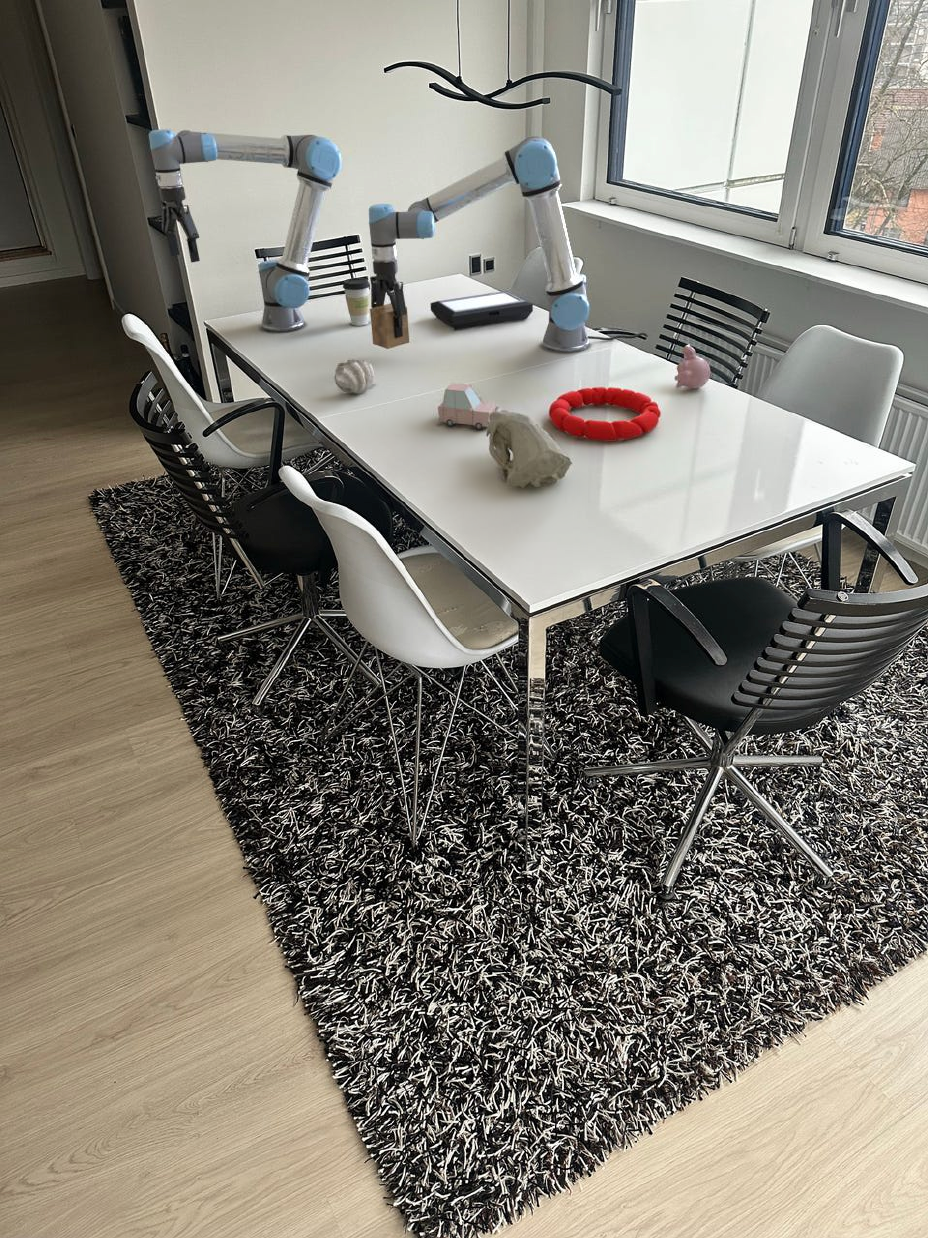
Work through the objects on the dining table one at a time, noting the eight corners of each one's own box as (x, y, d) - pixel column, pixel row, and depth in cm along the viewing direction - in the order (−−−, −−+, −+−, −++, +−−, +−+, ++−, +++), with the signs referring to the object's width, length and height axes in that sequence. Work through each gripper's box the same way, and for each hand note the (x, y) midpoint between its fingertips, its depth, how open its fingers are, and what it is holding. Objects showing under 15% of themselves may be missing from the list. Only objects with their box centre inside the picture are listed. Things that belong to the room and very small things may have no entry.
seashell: (327, 392, 269) (323, 359, 263) (372, 382, 274) (369, 350, 269) (340, 402, 261) (336, 369, 255) (386, 392, 267) (383, 359, 261)
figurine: (665, 387, 264) (669, 347, 257) (693, 380, 268) (698, 340, 261) (686, 396, 257) (690, 355, 250) (714, 388, 262) (720, 348, 255)
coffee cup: (372, 326, 323) (368, 283, 314) (345, 327, 323) (340, 284, 315) (374, 318, 331) (371, 276, 322) (348, 319, 331) (344, 277, 323)
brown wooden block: (373, 343, 288) (369, 308, 281) (394, 337, 293) (391, 302, 286) (387, 348, 283) (384, 313, 277) (409, 342, 288) (407, 306, 282)
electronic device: (452, 314, 311) (430, 300, 326) (452, 332, 314) (431, 318, 330) (532, 301, 321) (508, 289, 336) (532, 319, 325) (508, 305, 340)
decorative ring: (589, 435, 224) (684, 402, 234) (527, 398, 247) (617, 369, 256) (589, 461, 229) (683, 427, 238) (529, 422, 251) (617, 393, 260)
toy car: (488, 432, 240) (488, 396, 234) (436, 426, 244) (434, 390, 239) (499, 419, 247) (499, 384, 241) (448, 413, 252) (447, 379, 246)
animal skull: (496, 517, 219) (521, 479, 201) (463, 429, 225) (484, 384, 207) (557, 503, 225) (586, 465, 206) (523, 417, 231) (549, 373, 212)
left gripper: (141, 183, 282) (156, 254, 294) (179, 192, 267) (193, 266, 279) (163, 180, 286) (177, 250, 298) (201, 188, 271) (214, 262, 283)
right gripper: (354, 256, 278) (362, 330, 291) (396, 267, 265) (401, 343, 278) (373, 252, 282) (380, 325, 295) (415, 262, 269) (420, 338, 282)
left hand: (185, 258), depth 289 cm, fingers open, 13 cm apart
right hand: (390, 334), depth 286 cm, fingers closed on brown wooden block, 8 cm apart
